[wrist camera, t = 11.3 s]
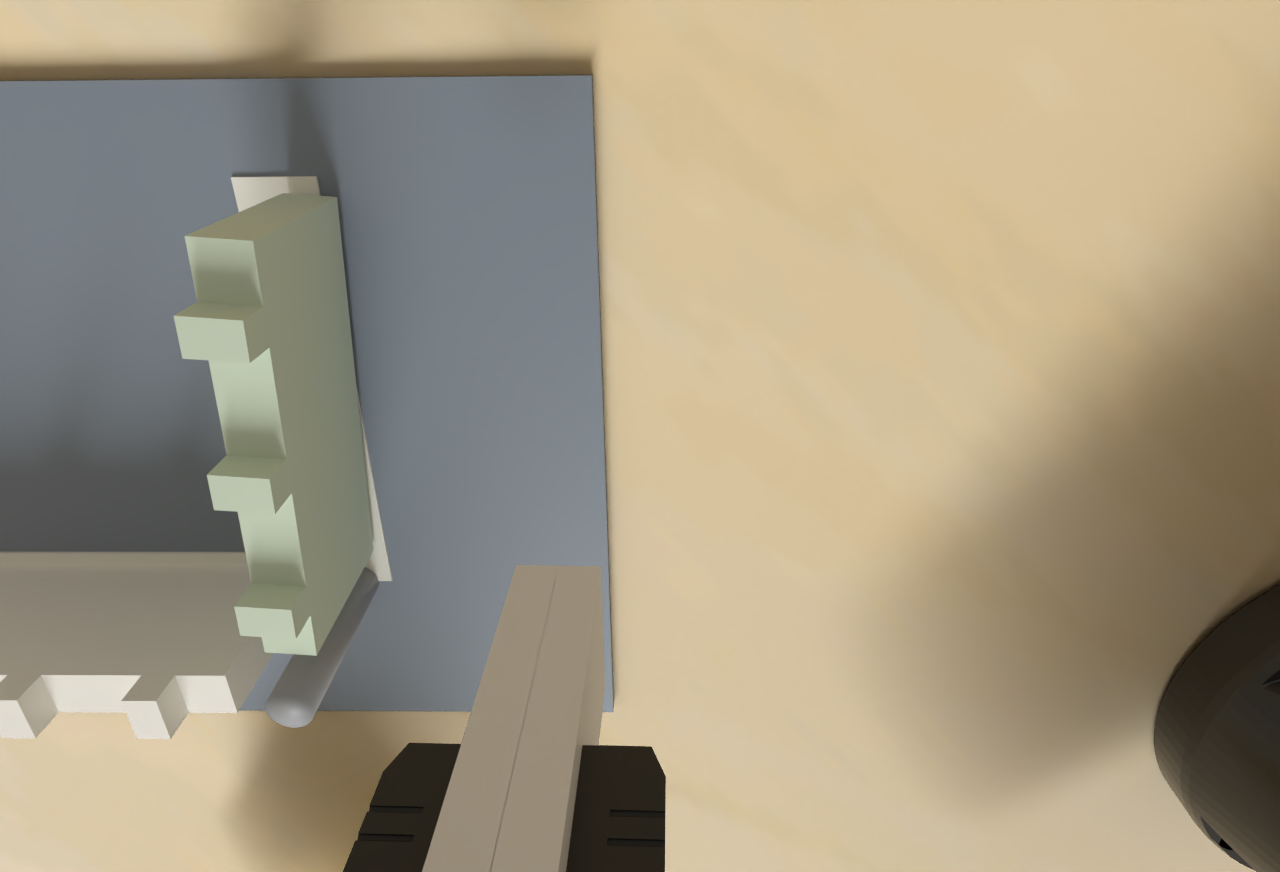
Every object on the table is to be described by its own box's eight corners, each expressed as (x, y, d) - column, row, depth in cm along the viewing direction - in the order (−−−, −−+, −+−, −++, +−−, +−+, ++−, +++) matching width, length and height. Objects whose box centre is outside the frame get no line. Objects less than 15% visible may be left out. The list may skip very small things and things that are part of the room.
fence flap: (373, 550, 28) (303, 680, 22) (329, 547, 28) (249, 677, 22) (336, 197, 22) (231, 252, 17) (283, 192, 22) (159, 246, 17)
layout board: (592, 74, 21) (591, 75, 21) (613, 704, 32) (613, 714, 31) (-317, 83, 22) (-337, 85, 21) (-1, 701, 32) (-10, 711, 32)
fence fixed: (379, 555, 29) (302, 701, 22) (385, 589, 29) (313, 739, 23) (-22, 555, 29) (-208, 699, 23) (-6, 588, 30) (-182, 737, 23)
